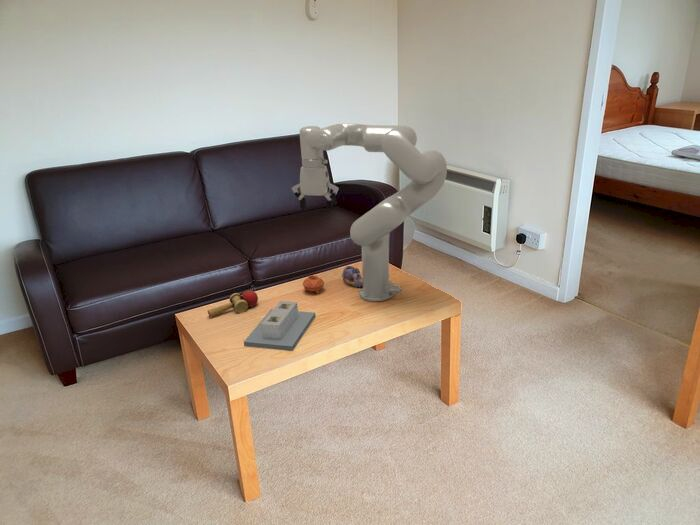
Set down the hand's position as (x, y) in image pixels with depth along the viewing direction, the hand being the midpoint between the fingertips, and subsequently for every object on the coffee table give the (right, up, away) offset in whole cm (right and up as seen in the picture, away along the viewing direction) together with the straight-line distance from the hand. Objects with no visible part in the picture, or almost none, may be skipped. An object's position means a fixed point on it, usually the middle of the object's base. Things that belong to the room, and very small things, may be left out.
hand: (316, 210), depth 187 cm
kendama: (-29, -36, -4) cm, 47 cm away
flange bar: (-10, -40, -19) cm, 45 cm away
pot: (-1, -30, +8) cm, 31 cm away
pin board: (-10, -41, -19) cm, 46 cm away
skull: (+14, -27, +12) cm, 33 cm away
